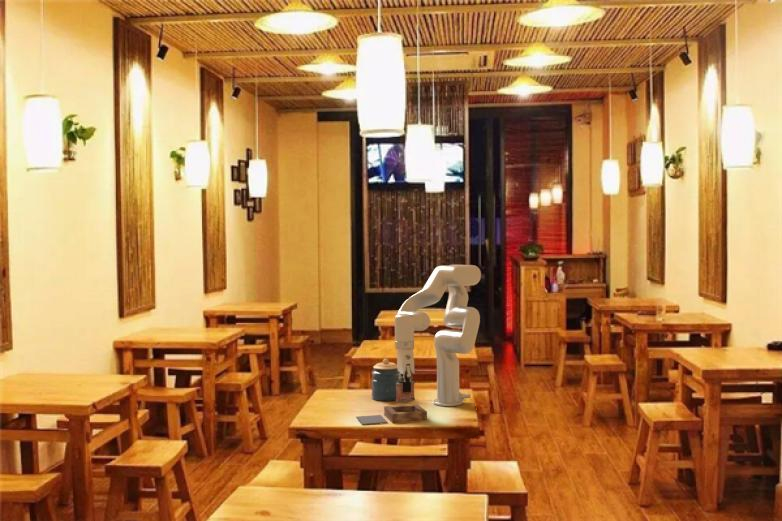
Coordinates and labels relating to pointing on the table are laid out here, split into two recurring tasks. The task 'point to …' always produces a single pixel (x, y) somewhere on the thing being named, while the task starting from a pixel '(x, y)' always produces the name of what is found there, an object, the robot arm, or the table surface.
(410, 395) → the lighter
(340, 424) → the table surface
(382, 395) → the canister
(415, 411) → the frame
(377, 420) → the charcoal mat
